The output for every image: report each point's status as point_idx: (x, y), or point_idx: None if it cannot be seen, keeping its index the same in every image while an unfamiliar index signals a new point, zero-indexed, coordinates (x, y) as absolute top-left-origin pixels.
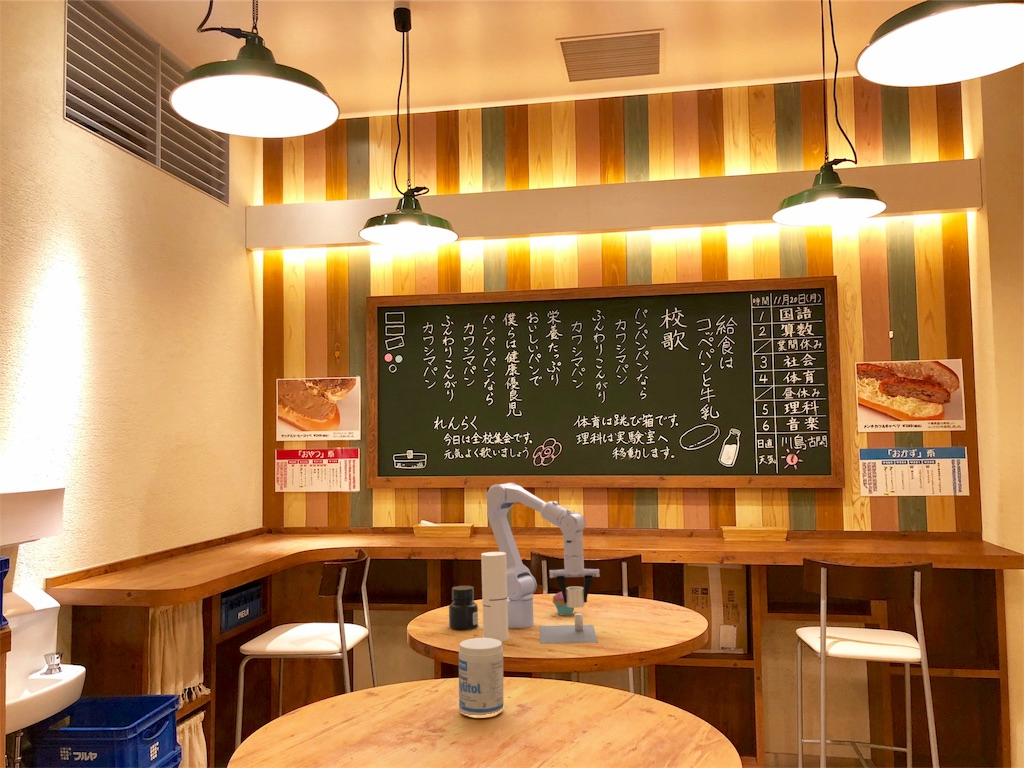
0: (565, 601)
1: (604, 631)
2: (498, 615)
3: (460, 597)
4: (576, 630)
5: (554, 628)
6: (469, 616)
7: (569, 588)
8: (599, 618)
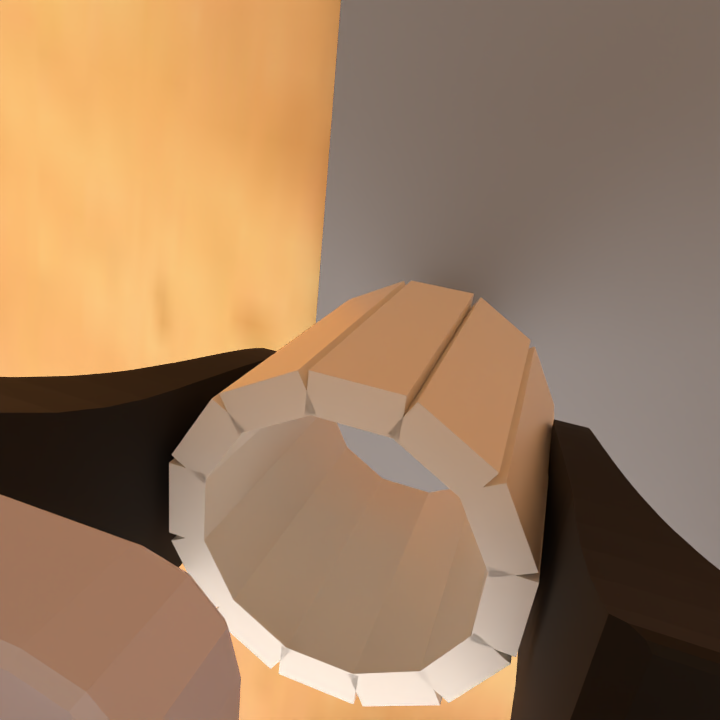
0: (574, 429)
1: (251, 343)
2: None
3: None
4: None
5: (651, 466)
6: None
7: (434, 647)
8: (245, 652)
